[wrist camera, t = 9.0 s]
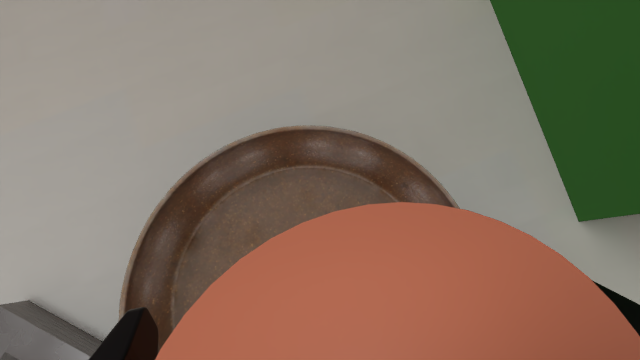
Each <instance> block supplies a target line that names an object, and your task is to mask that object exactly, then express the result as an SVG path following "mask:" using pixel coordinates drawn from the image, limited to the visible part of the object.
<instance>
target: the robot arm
mask: <svg viewBox="0 0 640 360" xmlns="http://www.w3.org/2000/svg"><path fill="white" fill-rule="evenodd" d="M593 282H594V281H593ZM594 283H595V284H596V285H597V286H598V287H599V289H600V290H601V291H602V292H603V293H604V294H605V295H606V296H607V297H608V298H609V299H610V300H611V301H612V302H613V303H614V304H615V305H616V306H617V308H618V309H619V310H620V312H621V313H622V314H623V315H624V317H625V318H626V319H627V320H628V322H629V323H630V324H631V326H632V327H633V328H634V329H635V331H636V332H637V333H638V335H639V336H640V305H639V304H637V303H635V302H633V301H631V300H629V299H627V298H625V297H623V296H621V295H619V294H618V293H616V292H614V291H612V290H610V289H608V288H606V287H604V286H602V285H600V284H598V283H596V282H594ZM158 337H159V333H158V327H157V325H156V323H155V321H154V319H153V318H152V316H151V314H150V312H149V310H148V309H147V308H146V307H140V308H135V309H130V310H128V311H127V312H126V313H125V314H124V316H123V317H122V318H121V319H120V321H119V322H118V323H117V324H116V326H115V327H114V328H113V329H112V331H111V332H110V333H109V334H108V336H107V337H106V338H105V339H104V341H103V342H102V343H101V344H100V346H99V347H98V348H97V349H96V351H95V352H94V353H93V354H92V356H91V357H90V358H89V360H155V359H156V357H157V355H158Z"/></svg>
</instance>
